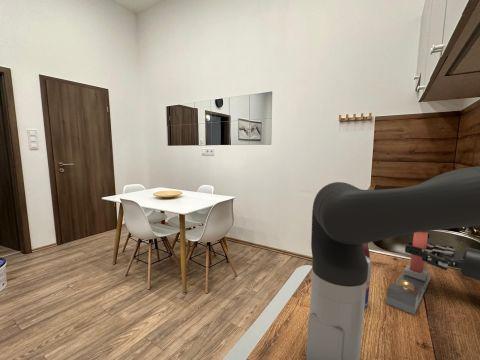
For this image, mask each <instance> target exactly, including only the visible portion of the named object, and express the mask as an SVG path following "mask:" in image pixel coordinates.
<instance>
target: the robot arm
mask: <svg viewBox="0 0 480 360" xmlns="http://www.w3.org/2000/svg"><path fill="white" fill-rule="evenodd" d="M311 213H312V214H311V240H310V241H311V242H310V244H311V245H310V246H311V247H310V248H311V255H312V257H311V258H312V266H311V267H312V268H311V284H310V298H309V299H310V303H309V315H308V317H307V318H308V322H307V336H306V352H305V353H306V355H305V360H360V359H361V351H362V350H361V349H362V338H363V325H364V317H365V308H366V307H365V296H366V287H367V277H368V263H367V259H366V257H365V254H364V250H363V243H372V242H377V241H381V240H385V239H391V238H395V237H400V236H403V235H408V234H409V235H410V234H414V233H416V232H422V231H429V232H430V231H441V230H442V231H443V230H451V229H458V228H469V227H479V226H480V165H479V166H469V167H464V168H458V169H454V170H450V171H447V172H444V173H441V174H439V175H436V176H434V177H432V178H430V179H427V180H426V181H423V182H421V183H418V184H416V185H410V186H406V187H397V188H396V187H395V188H386V189H361V188H359V187H356V186H355V185H353V184H349V183H347V182H341V181H337V182H336V181H335V182H331V183H328V184H327V185H324V186H323V187H322V188H321V189H319V190H318V192H317V193H316V195H315V197H314V200H313V203H312V211H311ZM404 252H405V253H406V254H410V255H411V254H413V255H417V256H420V258H422V261H424V263H427V264H429V265H432V266H434V267H436V268H439V269H442V270H444V271H447V270H448V268H452V269H460V270H461V271H460V274H461V276H463V277H465V278H469V279H472V280H475V281H479V282H480V250H479V249H476V248H471V247H465V248H464V252H461V251H458V250H457V249H455V247H454V246H453V245H450V244H449V245H446V244H441V243H434V242H433V243H432V242H427V245H426V249H421V248H418V247H414V246H413V240H411V241H409V242H408V244H406V245H405V246H404ZM364 307H365V308H364Z"/></svg>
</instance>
